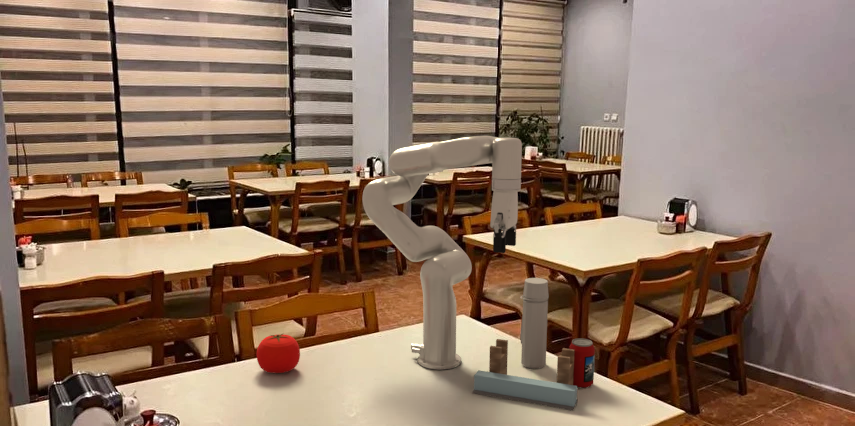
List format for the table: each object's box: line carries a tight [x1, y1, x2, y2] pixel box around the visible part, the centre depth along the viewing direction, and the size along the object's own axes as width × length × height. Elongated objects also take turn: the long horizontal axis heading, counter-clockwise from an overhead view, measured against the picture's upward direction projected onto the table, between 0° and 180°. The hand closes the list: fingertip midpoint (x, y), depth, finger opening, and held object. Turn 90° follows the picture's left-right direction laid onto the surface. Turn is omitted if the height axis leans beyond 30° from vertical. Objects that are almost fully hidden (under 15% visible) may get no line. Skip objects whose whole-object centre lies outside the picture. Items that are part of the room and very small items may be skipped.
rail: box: [473, 369, 578, 407], centre depth 176 cm, size 26×4×4 cm, turn 67°
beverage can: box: [568, 337, 596, 389], centre depth 184 cm, size 7×7×12 cm
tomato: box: [255, 332, 301, 374], centre depth 192 cm, size 12×12×10 cm
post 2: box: [556, 347, 574, 385], centre depth 178 cm, size 4×7×11 cm, turn 157°
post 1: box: [488, 338, 509, 375], centre depth 185 cm, size 4×7×11 cm, turn 157°
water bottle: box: [519, 277, 550, 370], centre depth 197 cm, size 9×8×25 cm
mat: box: [472, 389, 578, 412], centre depth 176 cm, size 26×6×1 cm, turn 67°
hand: (504, 248), depth 183 cm, fingers open, 9 cm apart
